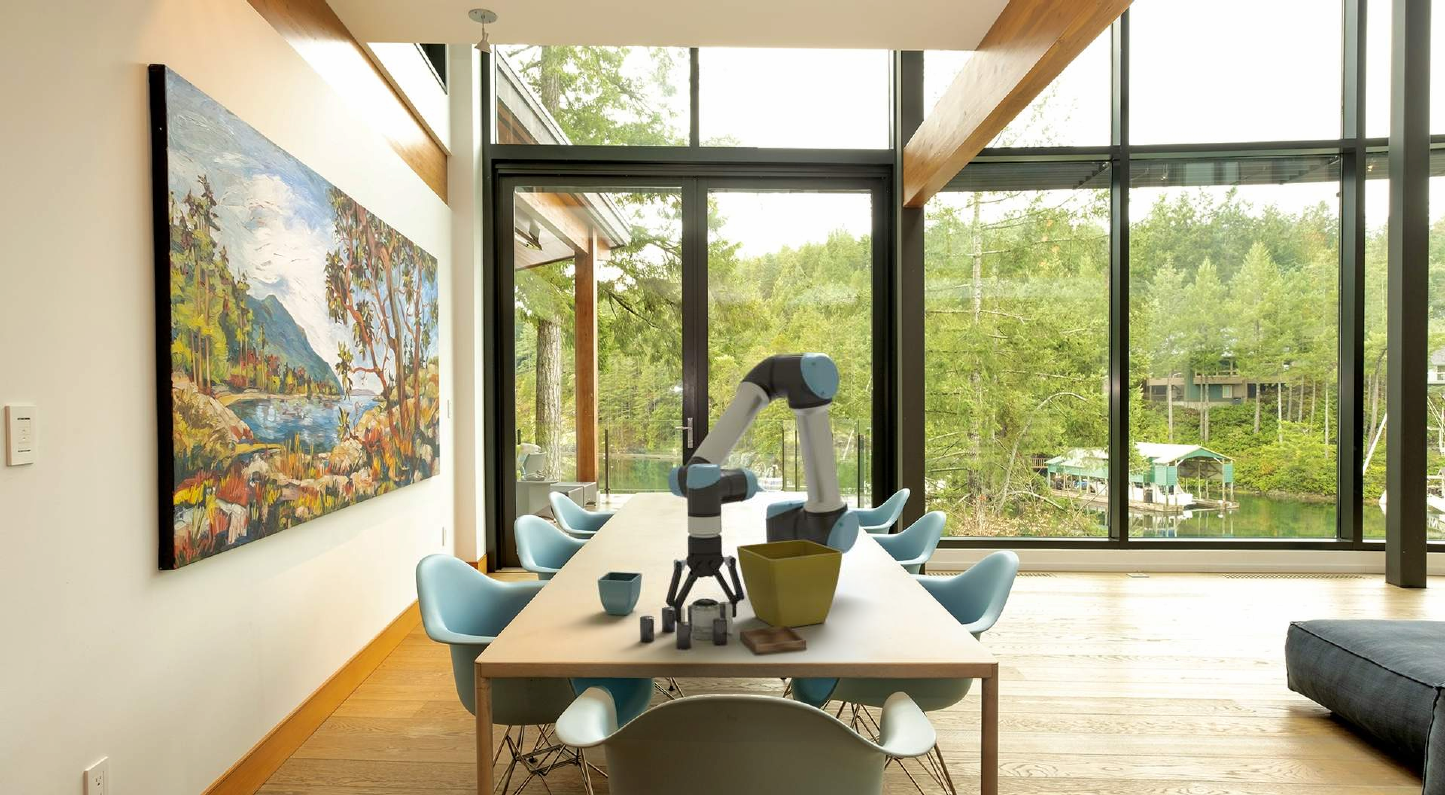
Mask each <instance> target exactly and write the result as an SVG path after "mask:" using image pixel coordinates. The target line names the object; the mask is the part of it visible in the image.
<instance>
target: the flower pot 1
mask: <svg viewBox="0 0 1445 795" xmlns="http://www.w3.org/2000/svg"><path fill="white" fill-rule="evenodd" d="M642 578H643V573H641V572H623V571H622V572H621V571H609V572H607V573H606V574H604V575H603V576H602V577H600V578H598V579H597V586H598V592H599V598H600V603H601V605H602V608H603V609H604V610H605V612H606V613H607V615H622V616H628V615H629V614H630V613H631V612H632V611H633V610H634V609H635V607H636V605H637V603H638V601H639V597H640V596H641V588H642V587H641V586H642Z"/></svg>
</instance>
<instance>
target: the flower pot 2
mask: <svg viewBox="0 0 1445 795" xmlns="http://www.w3.org/2000/svg"><path fill="white" fill-rule="evenodd" d="M736 551H737V552H736V553H737V558H738V563H739V566H740V572H741V576H742V579H743V583H744V587H745V591H746V593H747V597H748V600H749V602H750V605H751V608H752V611H753V613H754V616H755V617H756V618H758V619H759V620H762V621H763V622H765V623H767V624H768V625H771V626H772V627H782V626H788V627H789V628H794V627H801V626H808V625H815V624H820V623H821V624H822V623H825V622H826V620H827V618H828V615H829V613H830V609H831V607H832V604H833V601H834V598H835V595H836V590H837V587H838V581H839V577H840V574H841V573H840V572H841V566H842V558H843V554H842V551H839V550H836V549H832V548H829V547H826V546H823V545H820V544H817V543H814V542H810V541H807V540H794V541H783V542H773V543H767V542H765V543H755V544H744V545H739V546H737V547H736Z"/></svg>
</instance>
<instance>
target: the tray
mask: <svg viewBox="0 0 1445 795" xmlns="http://www.w3.org/2000/svg"><path fill="white" fill-rule="evenodd" d="M739 639H740V640H741V642H742V643H744V645H746V647H748V649H750V651H752V652H753V654H755V655H756V656H760V655H767V654H768V655H769V654H776V653H786V652H794V651H804V650H805V651H806V650H807V640H806V639H805V638H803V636H801V635H800V634H798V632H796V631H795V630H794V629H792V627H788V626H782V627H774V626H772V627H765V628H764V627H763V628H756V629H755V628H754V629H747V630H746V629H744V630H740V631H739Z"/></svg>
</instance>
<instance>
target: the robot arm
mask: <svg viewBox="0 0 1445 795" xmlns="http://www.w3.org/2000/svg"><path fill="white" fill-rule="evenodd" d="M839 386H840V373H839V371H838V368H837V365H836V364H835V362H834V360H833V359H832V358H831V357H829V355H827V354H825V353H820V352H818V353H817V352H801V353H789V354H787V353H786V354H775V355H771V356H769V357H767V358H765V359H763V360H761V361H760V362H759V363H758V364H756V365H755V366H754V367H753V368H752V369H751V370H750V371H748V373H746V374H745V376H744V377H743V378H742V380H741V381H740V382H739V383H738V385H737V387H736V394H735V396H734V397H733V399H732V400H731V401H730V403H729V404H728V406H726V409H724V411H723V413H722V414H721V416H720V417H719V418H718V419H717V421H716V423H715V424H714V425H713V426H712V428H711V429H710V431H709V432H708V434H707V435H706V437H705V438H704V440H703V441H702V442H701V443H700V445H699V446H698V447H697V449H696V451H695V452H694V453H693V455H692V456H691V458H689V460H688V461H687V463H686V465H678V466H675V467H673V468H672V469H671V470H670V472H669V474H668V477H667V486H668V489H669V491H670V492H671V493H672V494H673V495H674V496H676V497H680V498H685V499H686V500H687V502H686V503H687V533H688V534H689V535H688V536H687V557H686V558H685V559H681V560H679V559H674V560H673V573H672V577H671V580H670V583H669V588H668V592H667V595H666V598H665V604H667V607H674V616H675V617H674V618H675V624H677V623H678V622H686V608H685V607H684V606H683V605H684V603H685V601H686V599H687V598H688V595H689V594H690V592H691V589H693V586H694V584H695V582H697V580H698V578H701V579H702V578H705V577H707V578H708V577H709V578H711V577H712V578H713V577H715V579H716V581H717V583H719V585H720V588H721V589H722V590H723V592H724V594H725V596H726V597H727V599H728V601H725V602H726V620H727V634H729V635H733V633H734V632H733V630H734V628H733V625H734V624H733V623H734V622H733V619H734V618H737V605H738V603H739V602H740V601H743V600H745V594H744V593H745V592H744V589H743V586H742V583H741V581H740V577H739V574H738V571H737V558H736V557H735V556H732V555H729V556H723V549H722V547H723V542H722V540H723V539H722V538H723V537H722V535H721V533H722V532H723V531H722V526H723V525H722V505H727V504H733V503H739V502H740V503H742V502H745V501H748V500H751V499H752V498H753V497H754V496H755V495H756V494H757V492H758V486H759V485H758V479H757V477H756V475H755V473H754V472H753V471H752V470H750V469H748V468H741V467H740V468H738V467H737V468H735V469H731V468H730V469H727V468H723V466H724V464H725V463H726V462H727V461H728V459H729V457H730V456H731V454H732V453H733V452H734V450H735V448H736V446H737V445H738V444H739V443H740V441H741V440H742V439H743V437H744V435H745V434H746V433H747V431H748V430H749V428H750V427H751V425H752V424H753V422H754V420H756V417H757V416H758V415H759V414H760V411H762V410H766V409H767V408H768V407H769V405H770V404H771V403H772V402H773V401H775V400H778V399H779V400H780V399H787V406H788V409H789V410H791V411H792V412H793V413H794V414H795V419H796V426H797V427H796V428H797V433H798V439H799V445H800V446H799V447H800V453H801V454H800V455H801V461H802V466H803V473H804V474H803V475H804V480H805V487H806V488H805V489H806V494H807V500H805V499H799V500H798V499H797V500H786V501H778V502H773V503H770V504H769V505H768V506H767V507H766V515H765V528H766V529H765V531H766V534H765V535H766V538H765V539H766V543H773V542H783V541H794V540H807V541H810V542H814V543H817V544H820V545H823V546H826V547H829V548H832V549H836V550H839V551H842V555H844V554H847V553H848V552H850V550H851V549H852V548H853V547H854V545H855V543H856V542H857V539H858V535H859V532H860V519H859V517H858V514H857V513H856V512H855V511H853V510H852V509H849V507H848V500H847V499H846V498H845V497H843V496H842V495H841V493H840V492H841V491H840V483H839V477H838V470H837V465H836V463H837V462H836V456H835V449H834V441H833V435H832V429H831V421H830V420H831V419H830V413H829V408H830V407H831V406H832V404H833V402H834V399H833V398H834V397H835V396H836V395H837V393H838V391H839V389H840V388H839ZM723 564H725V566H727V569H728V573H729V576H730V579H731V582H732V586H733V589H734V592H735V594H734V592H733V591H732V589H731V588H730V586H729V585H728V583H727V581H726V579H725V578H724V576H723V574H722V572H721V571H720V569H721V568H722V566H723ZM686 566H687V567H688V568H689V569H690V570H689V572H688V573H687V577H686V579H685V581H684V583H683V585H682V586H681V589H680V590H679V593H678V589H679V586H680V581H681V578H682V575H683V574H682V572H683V571H684V570H685V567H686ZM677 593H678V594H677ZM676 596H677V597H676Z"/></svg>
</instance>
